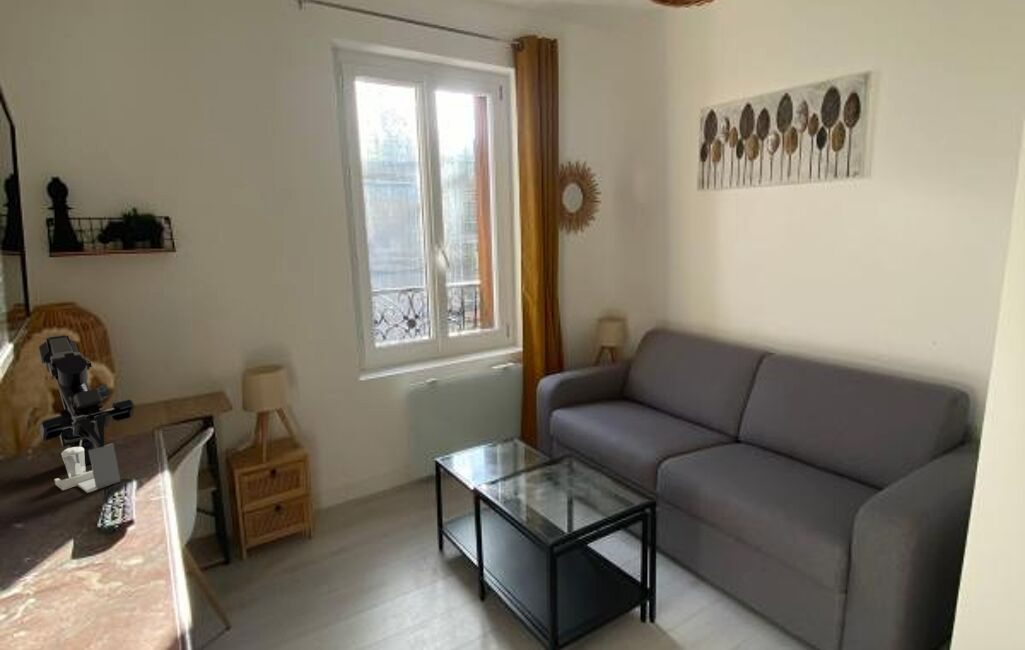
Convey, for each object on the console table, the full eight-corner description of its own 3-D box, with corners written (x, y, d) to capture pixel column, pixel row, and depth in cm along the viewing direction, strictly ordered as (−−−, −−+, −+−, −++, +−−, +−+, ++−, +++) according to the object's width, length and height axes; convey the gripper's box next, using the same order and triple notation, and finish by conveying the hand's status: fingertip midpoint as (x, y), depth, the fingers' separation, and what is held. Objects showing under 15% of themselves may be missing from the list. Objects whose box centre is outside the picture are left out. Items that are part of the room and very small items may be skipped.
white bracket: (55, 484, 139) (47, 447, 137) (102, 469, 147) (95, 433, 145) (72, 498, 131) (63, 458, 130) (120, 481, 139) (113, 443, 137)
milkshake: (97, 475, 144) (89, 439, 142) (80, 485, 138) (72, 447, 137) (80, 476, 144) (73, 440, 142) (63, 485, 139) (54, 448, 137)
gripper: (33, 387, 128) (57, 441, 123) (125, 368, 142) (150, 416, 138) (30, 414, 134) (53, 466, 129) (119, 393, 149) (143, 439, 144)
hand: (102, 446), depth 135 cm, fingers closed
